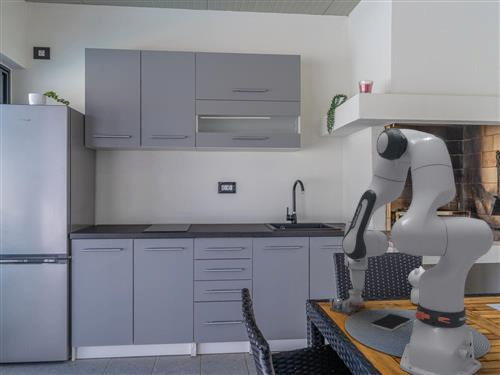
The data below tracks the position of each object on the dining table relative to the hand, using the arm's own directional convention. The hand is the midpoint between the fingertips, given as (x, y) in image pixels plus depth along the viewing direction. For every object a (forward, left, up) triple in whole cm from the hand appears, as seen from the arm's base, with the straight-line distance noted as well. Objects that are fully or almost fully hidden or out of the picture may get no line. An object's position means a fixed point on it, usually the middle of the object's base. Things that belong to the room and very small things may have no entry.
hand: (356, 296), depth 145 cm
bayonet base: (-4, +2, -4) cm, 6 cm away
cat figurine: (+20, -20, -5) cm, 29 cm away
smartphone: (-8, -17, -5) cm, 19 cm away
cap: (0, +1, -3) cm, 3 cm away
